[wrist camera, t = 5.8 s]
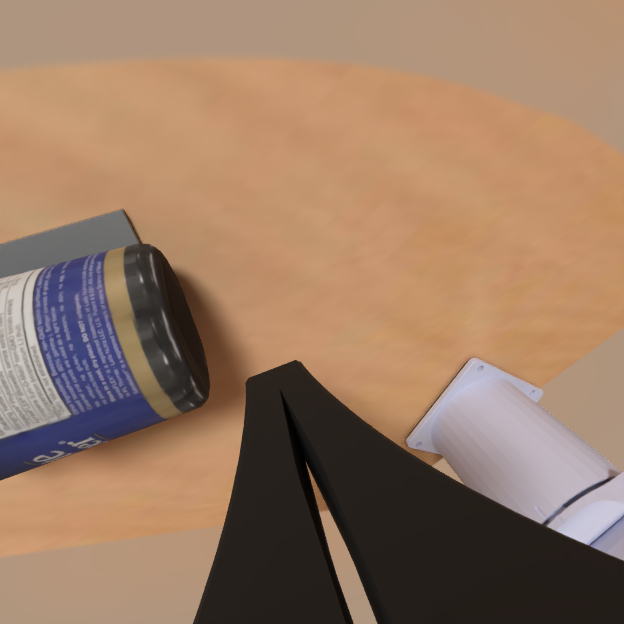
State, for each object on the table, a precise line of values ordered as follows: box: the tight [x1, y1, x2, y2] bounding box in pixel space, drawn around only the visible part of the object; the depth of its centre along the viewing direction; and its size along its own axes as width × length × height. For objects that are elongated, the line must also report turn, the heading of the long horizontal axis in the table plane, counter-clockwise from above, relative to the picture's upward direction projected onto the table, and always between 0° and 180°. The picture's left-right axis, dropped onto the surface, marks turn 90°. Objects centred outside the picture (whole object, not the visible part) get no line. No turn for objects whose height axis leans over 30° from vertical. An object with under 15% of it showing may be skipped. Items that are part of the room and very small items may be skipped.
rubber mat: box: [0, 209, 140, 278], centre depth 14 cm, size 11×8×1 cm
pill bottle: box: [0, 244, 210, 480], centre depth 12 cm, size 6×6×11 cm
